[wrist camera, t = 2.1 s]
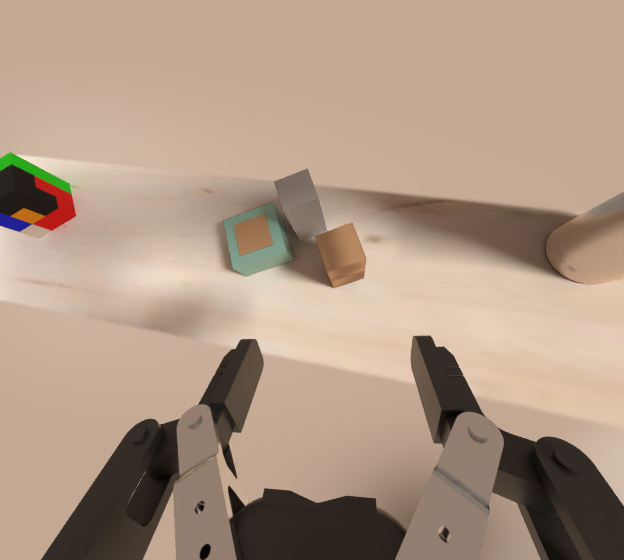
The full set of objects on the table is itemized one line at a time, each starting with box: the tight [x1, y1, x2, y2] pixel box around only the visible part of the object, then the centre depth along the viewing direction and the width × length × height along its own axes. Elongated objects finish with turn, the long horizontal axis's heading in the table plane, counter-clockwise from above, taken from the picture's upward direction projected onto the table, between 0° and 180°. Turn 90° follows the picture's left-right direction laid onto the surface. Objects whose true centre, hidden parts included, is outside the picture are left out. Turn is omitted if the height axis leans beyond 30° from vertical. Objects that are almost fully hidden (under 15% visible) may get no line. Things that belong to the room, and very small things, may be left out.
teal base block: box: [223, 202, 294, 276], centre depth 40 cm, size 9×9×5 cm
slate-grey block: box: [274, 169, 327, 241], centre depth 37 cm, size 5×5×10 cm
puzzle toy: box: [0, 152, 76, 238], centre depth 50 cm, size 10×10×10 cm
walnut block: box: [315, 223, 366, 288], centre depth 34 cm, size 5×5×10 cm
